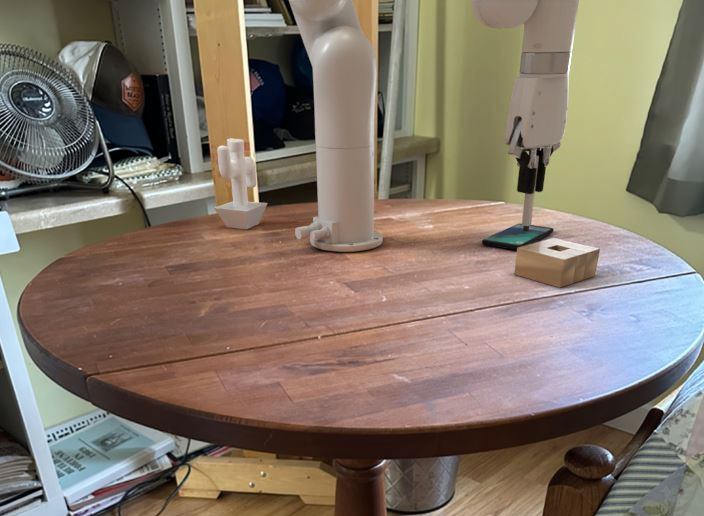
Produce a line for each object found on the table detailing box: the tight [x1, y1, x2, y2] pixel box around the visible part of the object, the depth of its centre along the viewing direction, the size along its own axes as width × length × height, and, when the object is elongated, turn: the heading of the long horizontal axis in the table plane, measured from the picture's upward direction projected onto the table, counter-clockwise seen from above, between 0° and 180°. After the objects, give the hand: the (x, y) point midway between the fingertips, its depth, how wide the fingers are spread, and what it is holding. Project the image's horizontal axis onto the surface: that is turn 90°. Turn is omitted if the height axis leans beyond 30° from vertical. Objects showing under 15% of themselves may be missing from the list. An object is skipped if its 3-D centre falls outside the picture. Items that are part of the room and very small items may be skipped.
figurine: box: [213, 137, 268, 230], centre depth 129 cm, size 7×9×15 cm
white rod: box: [521, 155, 539, 232], centre depth 119 cm, size 2×2×12 cm
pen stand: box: [514, 237, 601, 289], centre depth 104 cm, size 8×8×4 cm
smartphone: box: [481, 223, 555, 251], centre depth 122 cm, size 7×1×15 cm
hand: (529, 191), depth 119 cm, fingers closed on white rod, 1 cm apart
